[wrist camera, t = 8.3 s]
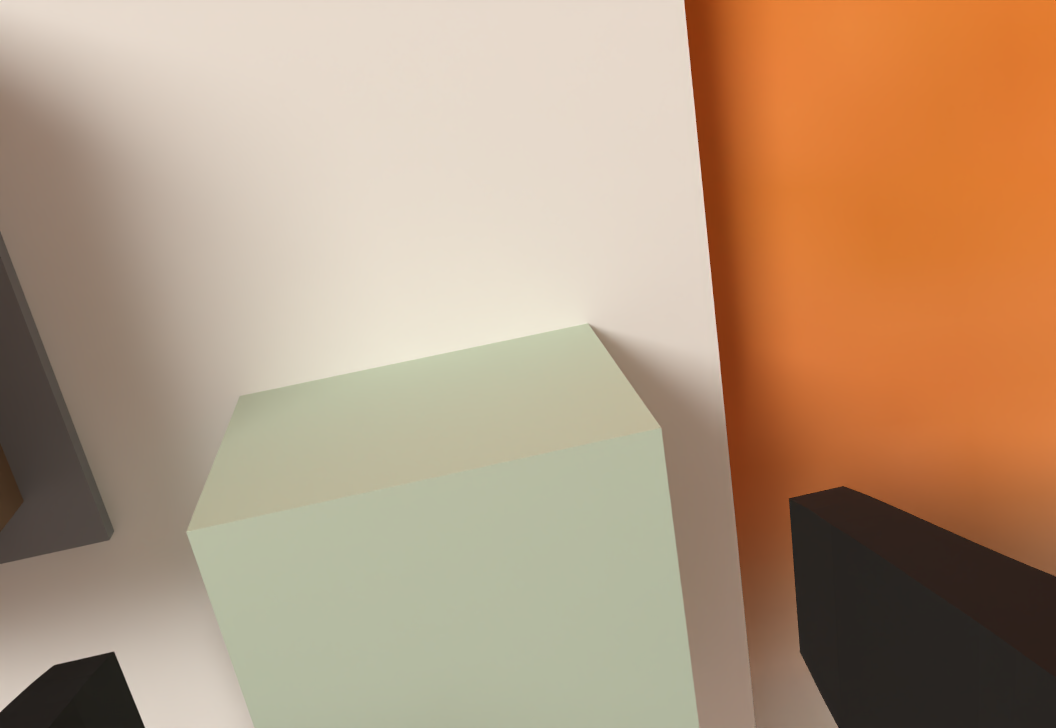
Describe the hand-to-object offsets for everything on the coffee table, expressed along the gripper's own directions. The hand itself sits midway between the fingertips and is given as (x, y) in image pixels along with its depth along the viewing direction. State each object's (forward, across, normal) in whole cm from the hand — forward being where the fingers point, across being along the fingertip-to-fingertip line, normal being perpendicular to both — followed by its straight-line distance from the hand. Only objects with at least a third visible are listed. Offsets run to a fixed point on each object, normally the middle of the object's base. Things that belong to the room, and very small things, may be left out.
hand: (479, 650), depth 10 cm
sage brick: (+2, 0, 0) cm, 2 cm away
